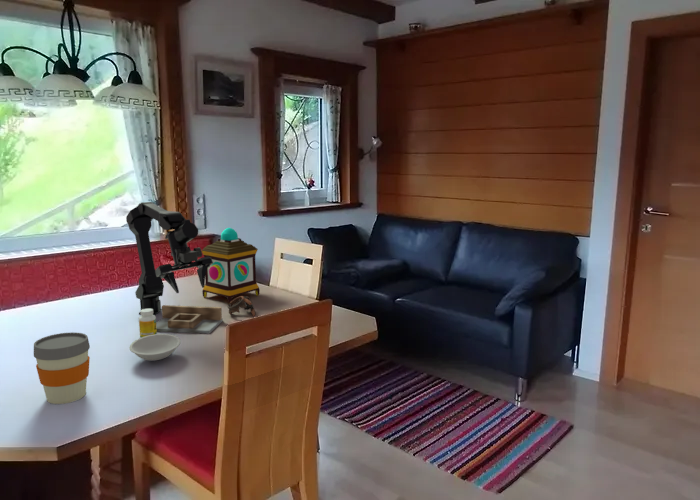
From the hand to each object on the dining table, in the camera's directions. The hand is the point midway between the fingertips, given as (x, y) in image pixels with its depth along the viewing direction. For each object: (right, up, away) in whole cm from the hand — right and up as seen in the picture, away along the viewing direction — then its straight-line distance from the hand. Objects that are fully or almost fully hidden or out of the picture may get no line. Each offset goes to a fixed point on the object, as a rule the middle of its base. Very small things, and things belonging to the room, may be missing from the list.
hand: (190, 290), depth 185 cm
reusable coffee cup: (-18, -24, -47) cm, 56 cm away
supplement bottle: (-13, -16, -4) cm, 21 cm away
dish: (-4, -19, -22) cm, 30 cm away
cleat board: (-4, -13, +8) cm, 16 cm away
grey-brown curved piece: (+14, -11, +23) cm, 28 cm away
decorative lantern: (+4, -6, +47) cm, 48 cm away
